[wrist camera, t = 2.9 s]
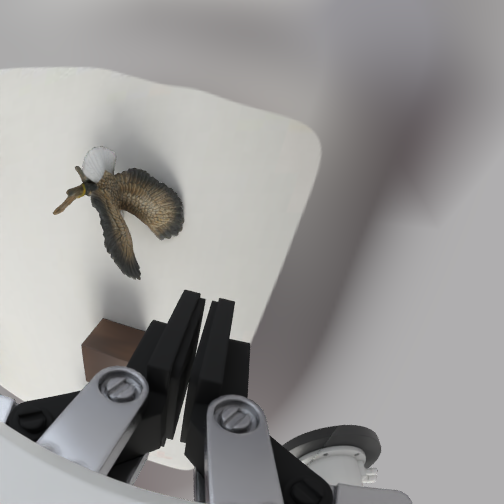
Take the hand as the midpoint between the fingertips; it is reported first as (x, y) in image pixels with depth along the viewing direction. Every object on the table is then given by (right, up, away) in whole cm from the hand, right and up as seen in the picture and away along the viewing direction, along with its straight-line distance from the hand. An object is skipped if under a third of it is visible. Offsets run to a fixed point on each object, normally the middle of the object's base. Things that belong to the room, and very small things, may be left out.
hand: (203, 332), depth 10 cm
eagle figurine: (-8, +7, +14) cm, 18 cm away
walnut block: (-12, -7, +19) cm, 23 cm away
